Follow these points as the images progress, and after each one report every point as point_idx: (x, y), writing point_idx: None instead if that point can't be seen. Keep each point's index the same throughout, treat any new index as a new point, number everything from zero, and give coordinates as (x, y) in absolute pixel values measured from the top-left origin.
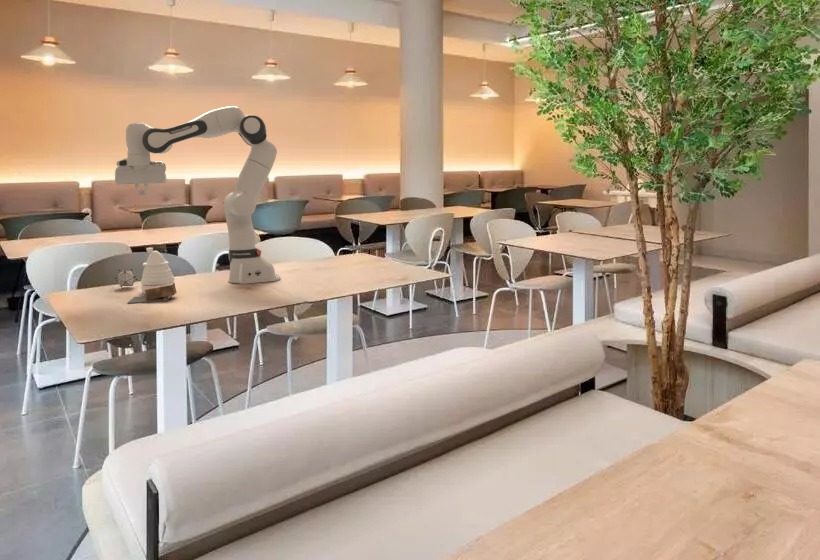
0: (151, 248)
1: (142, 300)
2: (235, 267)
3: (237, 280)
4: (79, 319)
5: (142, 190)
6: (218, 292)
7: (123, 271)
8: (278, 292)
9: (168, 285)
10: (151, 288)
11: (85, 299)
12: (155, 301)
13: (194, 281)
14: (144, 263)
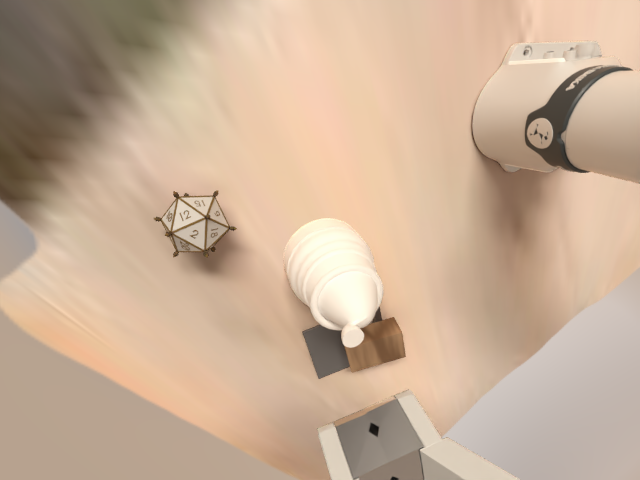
0: (361, 340)
1: (339, 360)
2: (527, 160)
3: (501, 161)
4: (298, 465)
5: (387, 465)
6: (462, 269)
7: (191, 240)
8: (563, 265)
9: (398, 357)
10: (364, 367)
11: (188, 357)
12: None
13: (372, 105)
14: (320, 317)
